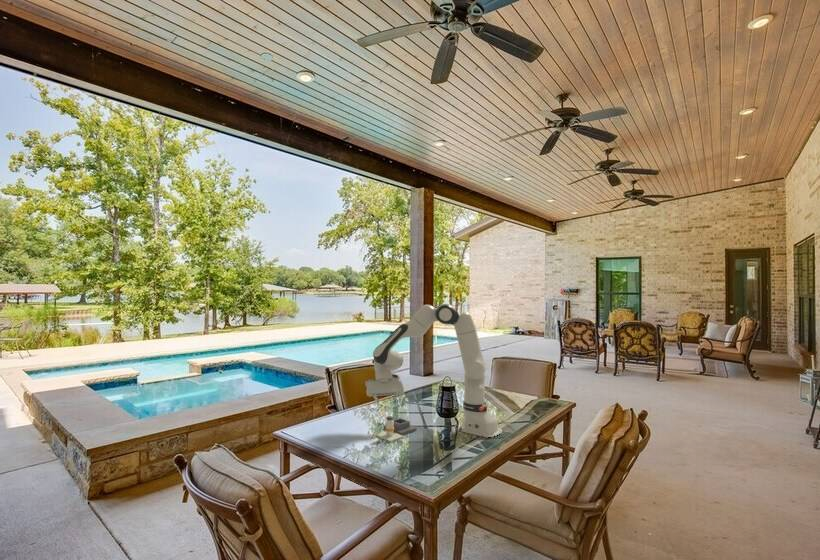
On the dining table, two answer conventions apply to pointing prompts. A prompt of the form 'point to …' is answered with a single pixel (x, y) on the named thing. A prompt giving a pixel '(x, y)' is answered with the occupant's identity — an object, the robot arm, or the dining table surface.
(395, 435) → the mat
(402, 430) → the socket
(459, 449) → the dining table surface
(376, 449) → the dining table surface
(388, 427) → the plug
